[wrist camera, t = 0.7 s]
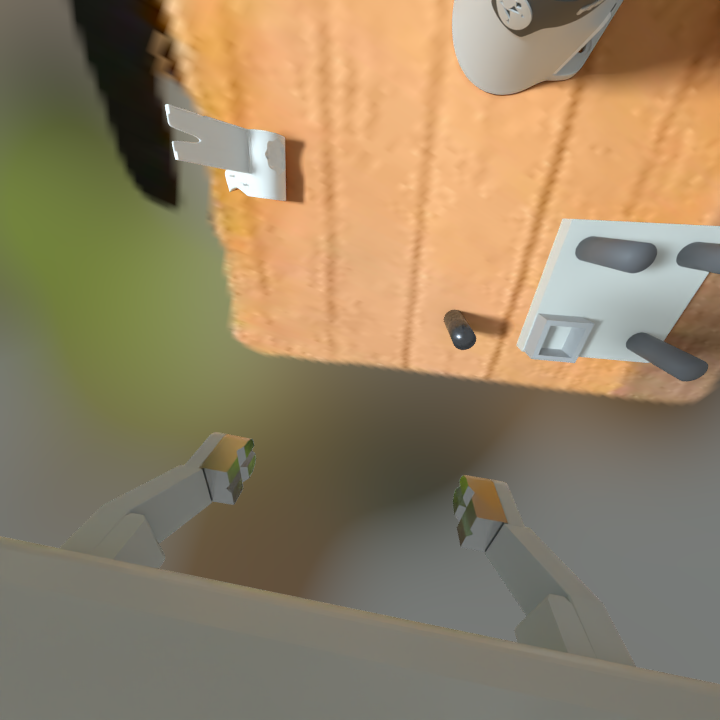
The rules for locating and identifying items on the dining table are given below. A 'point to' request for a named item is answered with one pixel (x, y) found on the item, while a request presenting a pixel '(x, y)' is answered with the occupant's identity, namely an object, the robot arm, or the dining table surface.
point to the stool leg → (459, 330)
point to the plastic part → (233, 152)
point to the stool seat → (620, 292)
